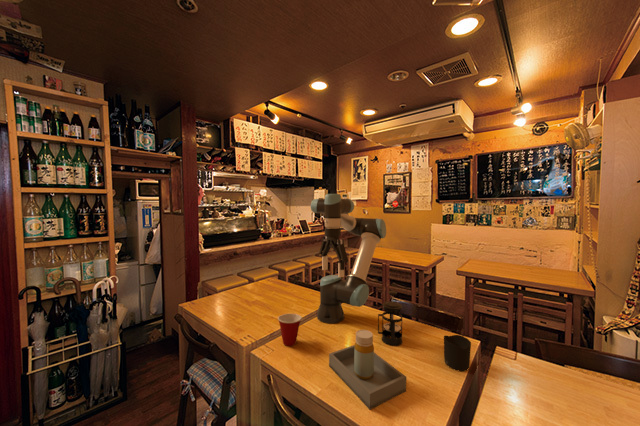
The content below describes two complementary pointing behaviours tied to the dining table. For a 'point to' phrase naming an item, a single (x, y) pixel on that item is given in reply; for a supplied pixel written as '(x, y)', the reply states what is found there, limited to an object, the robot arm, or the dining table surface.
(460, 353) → the pen holder
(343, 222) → the robot arm
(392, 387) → the crate
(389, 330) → the french press
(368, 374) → the bottle
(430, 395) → the dining table surface
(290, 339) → the plastic cup
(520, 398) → the dining table surface
